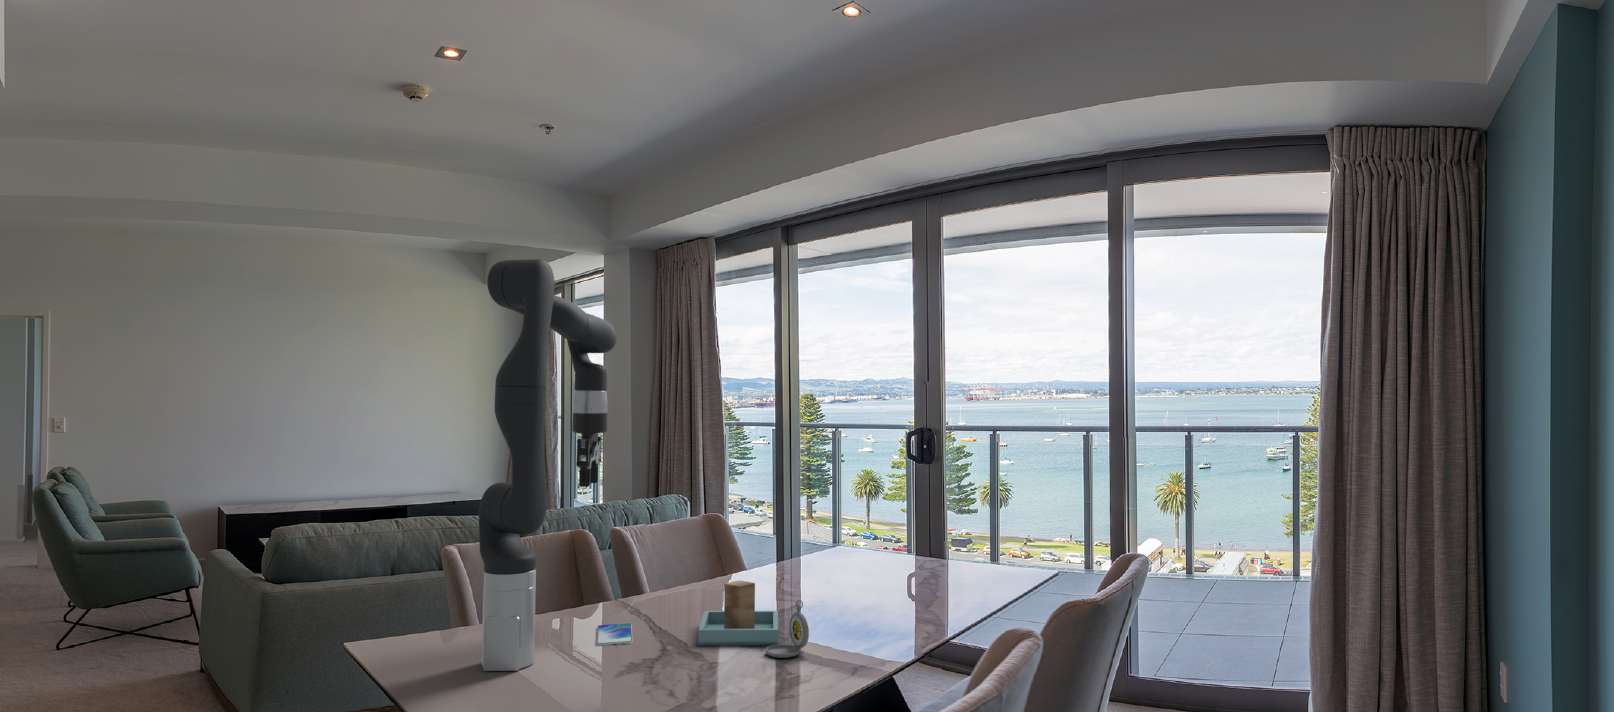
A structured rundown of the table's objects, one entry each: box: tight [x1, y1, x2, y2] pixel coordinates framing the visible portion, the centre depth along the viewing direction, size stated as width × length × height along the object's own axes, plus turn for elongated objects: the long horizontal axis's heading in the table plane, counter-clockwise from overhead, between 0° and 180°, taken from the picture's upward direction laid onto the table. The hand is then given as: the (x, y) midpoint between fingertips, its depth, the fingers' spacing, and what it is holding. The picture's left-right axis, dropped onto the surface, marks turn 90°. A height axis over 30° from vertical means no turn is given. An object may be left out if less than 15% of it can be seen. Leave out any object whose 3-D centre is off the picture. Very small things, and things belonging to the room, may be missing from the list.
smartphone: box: [595, 622, 634, 647], centre depth 183 cm, size 7×1×15 cm
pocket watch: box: [765, 599, 810, 659], centre depth 170 cm, size 8×8×10 cm
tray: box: [697, 610, 779, 646], centre depth 184 cm, size 16×16×3 cm
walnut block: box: [723, 579, 756, 629], centre depth 184 cm, size 4×4×10 cm
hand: (588, 484), depth 194 cm, fingers open, 8 cm apart
